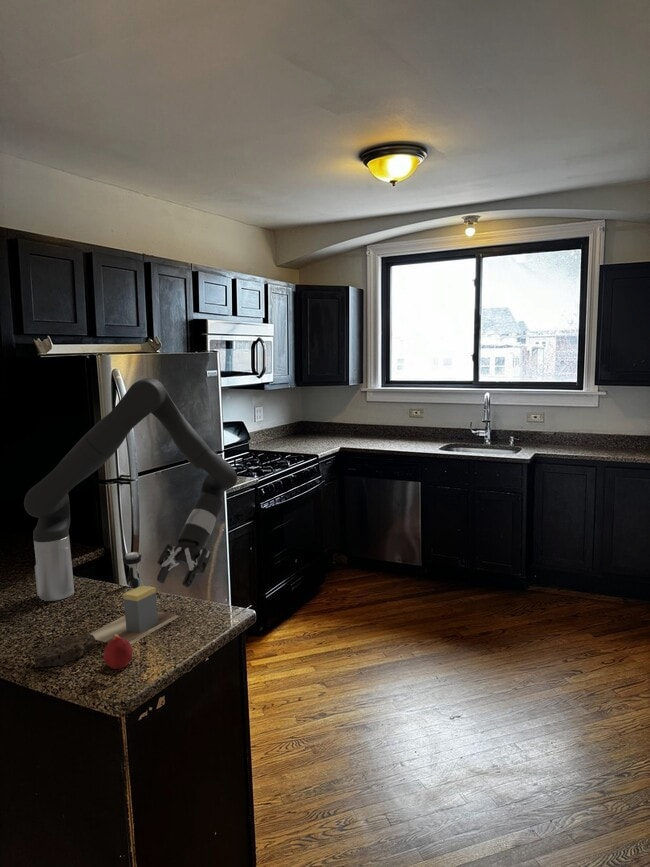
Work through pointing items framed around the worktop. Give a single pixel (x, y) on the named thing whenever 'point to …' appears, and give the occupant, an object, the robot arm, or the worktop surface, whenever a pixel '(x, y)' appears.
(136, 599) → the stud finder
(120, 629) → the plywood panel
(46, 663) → the concrete sample
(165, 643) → the worktop surface
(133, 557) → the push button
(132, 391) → the robot arm
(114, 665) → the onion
